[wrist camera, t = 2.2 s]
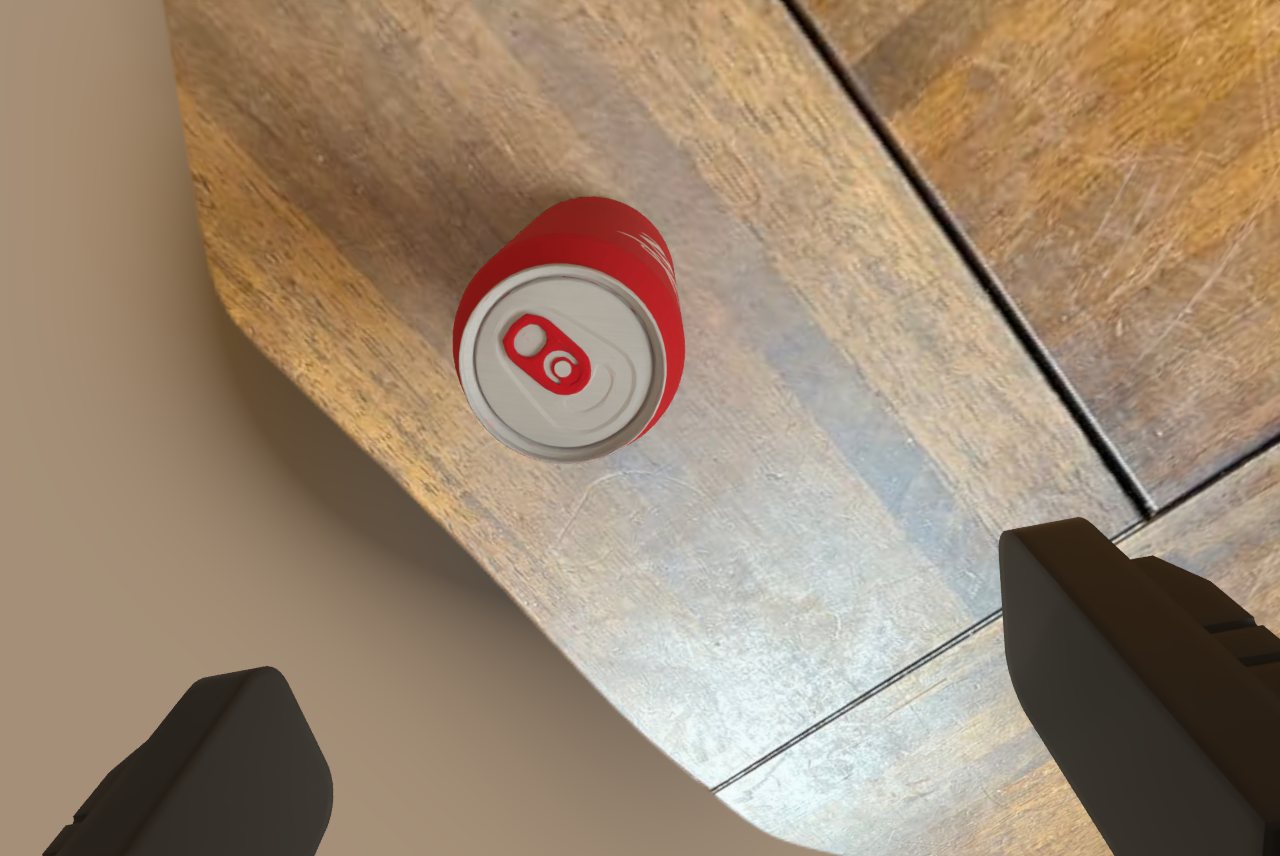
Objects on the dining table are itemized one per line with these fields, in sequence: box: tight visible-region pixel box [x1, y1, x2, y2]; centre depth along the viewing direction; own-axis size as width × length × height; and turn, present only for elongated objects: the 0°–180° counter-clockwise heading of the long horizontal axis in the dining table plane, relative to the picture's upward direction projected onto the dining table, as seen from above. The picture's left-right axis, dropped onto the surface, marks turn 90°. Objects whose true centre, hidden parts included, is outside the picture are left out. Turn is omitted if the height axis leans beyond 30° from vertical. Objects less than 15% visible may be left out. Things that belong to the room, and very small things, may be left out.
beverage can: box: [453, 197, 685, 464], centre depth 25 cm, size 6×6×12 cm
